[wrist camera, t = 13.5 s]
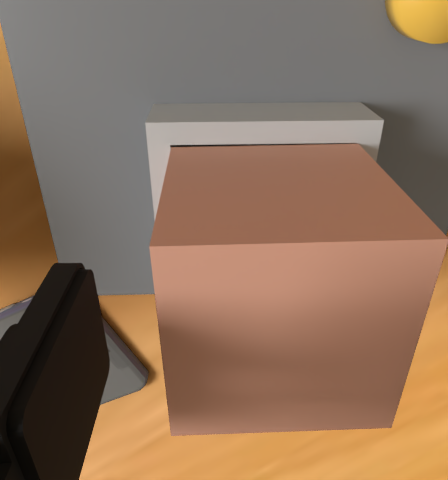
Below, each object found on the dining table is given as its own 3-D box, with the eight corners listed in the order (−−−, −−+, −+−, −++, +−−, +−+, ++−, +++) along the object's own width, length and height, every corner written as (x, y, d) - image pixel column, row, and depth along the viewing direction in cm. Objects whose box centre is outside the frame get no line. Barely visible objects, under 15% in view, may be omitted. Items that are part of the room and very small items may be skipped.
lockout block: (358, 143, 11) (449, 239, 7) (334, 292, 14) (391, 427, 10) (171, 147, 11) (149, 246, 7) (182, 296, 14) (170, 435, 10)
